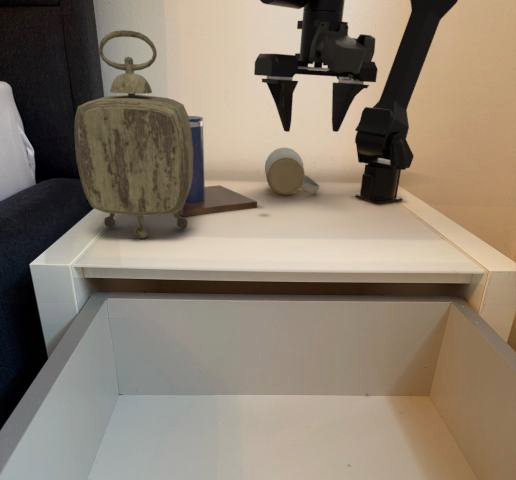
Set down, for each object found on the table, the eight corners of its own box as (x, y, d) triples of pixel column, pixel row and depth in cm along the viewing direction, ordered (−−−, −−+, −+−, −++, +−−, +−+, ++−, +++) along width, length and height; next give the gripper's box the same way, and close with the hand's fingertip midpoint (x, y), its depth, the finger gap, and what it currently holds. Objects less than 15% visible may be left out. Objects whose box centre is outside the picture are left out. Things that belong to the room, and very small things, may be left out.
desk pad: (219, 190, 98) (219, 185, 97) (257, 207, 87) (257, 201, 87) (151, 197, 91) (151, 192, 90) (183, 216, 81) (183, 210, 80)
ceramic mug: (265, 196, 94) (267, 153, 90) (263, 186, 101) (265, 146, 97) (321, 198, 94) (326, 155, 91) (315, 188, 102) (319, 148, 98)
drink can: (208, 196, 89) (206, 116, 82) (200, 203, 84) (198, 119, 78) (178, 194, 90) (174, 115, 83) (169, 201, 85) (164, 118, 78)
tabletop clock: (196, 226, 76) (189, 34, 64) (191, 245, 69) (182, 30, 56) (100, 224, 76) (74, 30, 63) (84, 243, 68) (51, 26, 55)
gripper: (297, 1, 61) (287, 138, 68) (411, 16, 69) (391, 137, 77) (255, 7, 69) (250, 129, 77) (361, 20, 78) (347, 129, 85)
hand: (311, 131), depth 79 cm, fingers open, 9 cm apart
